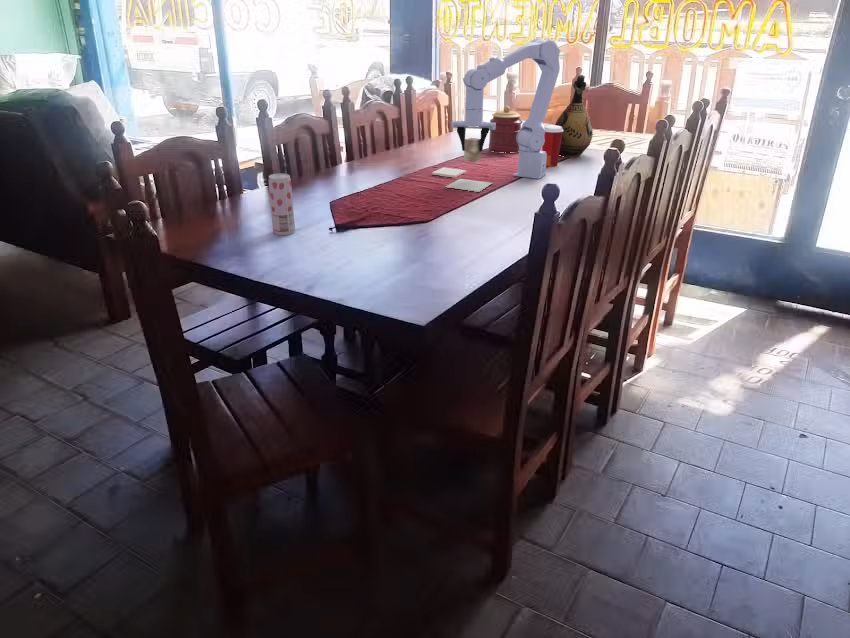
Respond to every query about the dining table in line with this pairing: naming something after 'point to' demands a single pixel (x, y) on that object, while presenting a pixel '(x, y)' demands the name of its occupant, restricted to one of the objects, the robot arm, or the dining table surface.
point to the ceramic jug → (575, 124)
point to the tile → (449, 172)
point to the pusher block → (472, 149)
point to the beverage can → (281, 204)
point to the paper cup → (552, 144)
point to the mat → (469, 185)
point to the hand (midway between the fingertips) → (472, 150)
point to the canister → (505, 131)
